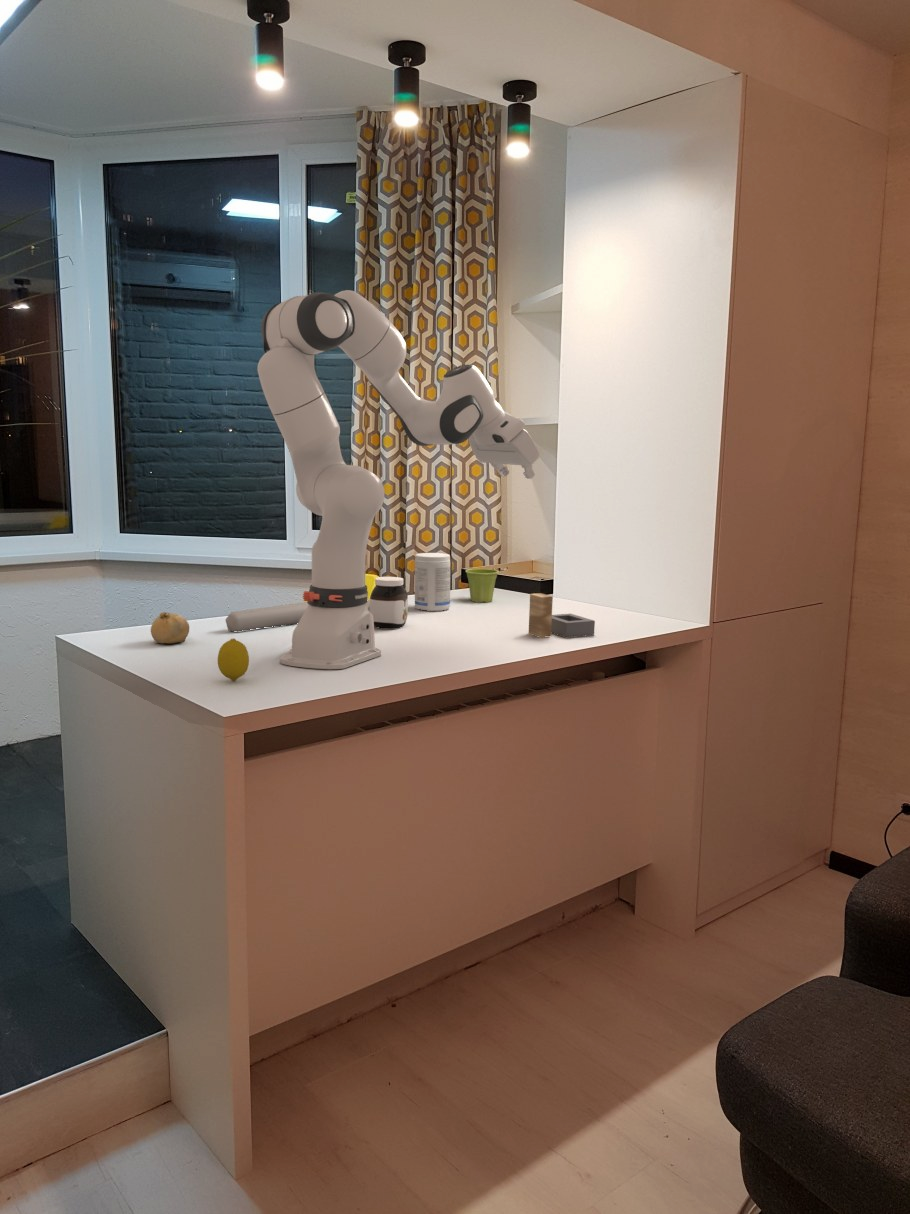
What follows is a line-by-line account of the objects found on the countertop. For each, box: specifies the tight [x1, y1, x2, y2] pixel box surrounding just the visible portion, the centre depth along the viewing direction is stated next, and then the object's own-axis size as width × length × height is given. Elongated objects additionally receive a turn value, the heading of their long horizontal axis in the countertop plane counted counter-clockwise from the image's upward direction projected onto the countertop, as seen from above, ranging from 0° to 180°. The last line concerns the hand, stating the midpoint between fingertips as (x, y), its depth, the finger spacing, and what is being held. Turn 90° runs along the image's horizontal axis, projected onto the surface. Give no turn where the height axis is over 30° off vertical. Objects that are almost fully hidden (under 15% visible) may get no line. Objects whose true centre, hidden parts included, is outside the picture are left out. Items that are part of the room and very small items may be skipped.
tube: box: [225, 601, 308, 632], centre depth 218 cm, size 5×5×25 cm
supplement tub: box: [414, 552, 451, 612], centre depth 245 cm, size 10×10×15 cm
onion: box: [150, 611, 190, 644], centre depth 197 cm, size 8×8×7 cm
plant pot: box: [465, 568, 500, 603], centre depth 260 cm, size 9×9×9 cm
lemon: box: [217, 638, 250, 682], centre depth 166 cm, size 6×6×8 cm
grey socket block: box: [551, 613, 596, 638], centre depth 219 cm, size 8×10×4 cm
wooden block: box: [528, 592, 554, 638], centre depth 214 cm, size 3×5×10 cm, turn 28°
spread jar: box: [366, 576, 409, 629], centre depth 222 cm, size 12×11×12 cm
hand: (518, 475), depth 216 cm, fingers open, 8 cm apart
